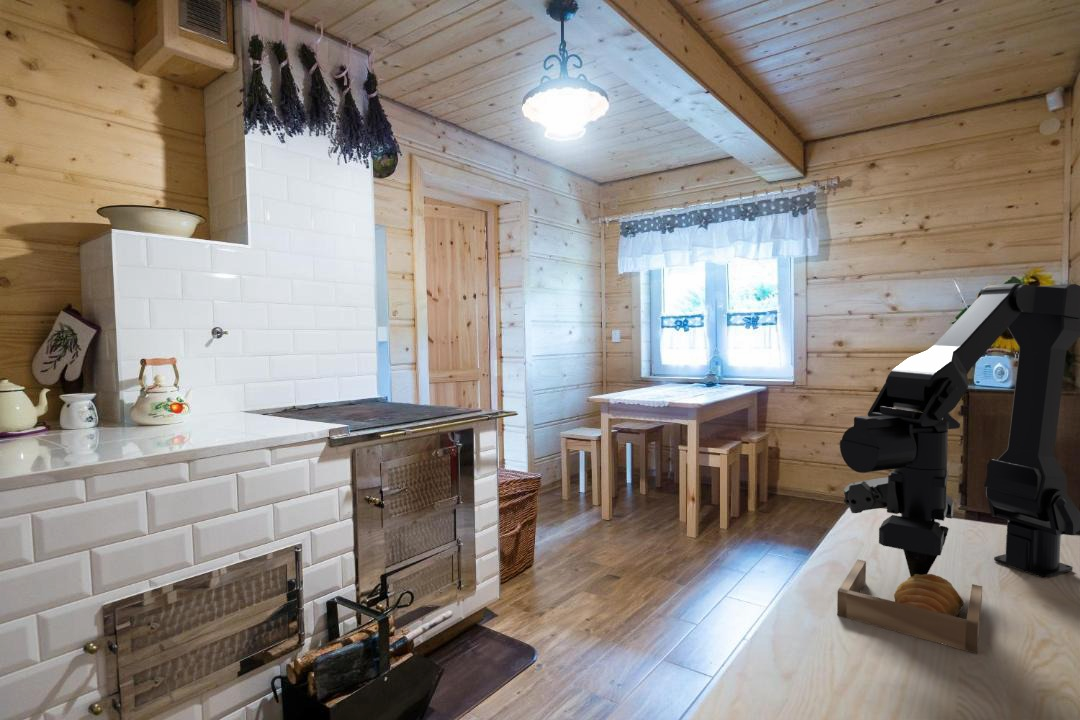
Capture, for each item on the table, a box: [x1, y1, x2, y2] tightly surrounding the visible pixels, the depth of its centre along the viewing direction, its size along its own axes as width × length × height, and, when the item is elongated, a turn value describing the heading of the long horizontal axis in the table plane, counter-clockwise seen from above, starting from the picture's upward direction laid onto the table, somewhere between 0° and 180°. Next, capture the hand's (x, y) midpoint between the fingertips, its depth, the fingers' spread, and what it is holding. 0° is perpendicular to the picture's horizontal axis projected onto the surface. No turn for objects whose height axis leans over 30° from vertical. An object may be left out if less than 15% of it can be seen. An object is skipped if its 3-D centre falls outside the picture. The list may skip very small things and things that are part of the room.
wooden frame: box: [836, 559, 983, 654], centre depth 70 cm, size 12×14×3 cm
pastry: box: [893, 573, 965, 617], centre depth 70 cm, size 9×7×4 cm
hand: (917, 582), depth 75 cm, fingers closed
